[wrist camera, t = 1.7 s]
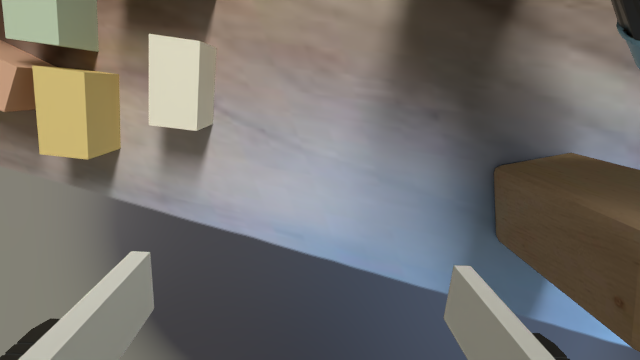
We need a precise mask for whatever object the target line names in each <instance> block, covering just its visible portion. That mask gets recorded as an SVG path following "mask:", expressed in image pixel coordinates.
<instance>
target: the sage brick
mask: <svg viewBox="0 0 640 360" xmlns="http://www.w3.org/2000/svg"><path fill="white" fill-rule="evenodd" d="M2 7H3V17H4V26H5V36H6V38H8V39H15V40H21V41H27V42H34V43H40V44H46V45H53V46H60V47H67V48H74V49H82V50H89V51H96V52H99V51H98V23H97V0H2Z"/></svg>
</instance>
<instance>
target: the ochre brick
mask: <svg viewBox="0 0 640 360" xmlns="http://www.w3.org/2000/svg"><path fill="white" fill-rule="evenodd" d="M32 69H33V81H34V93H35V105H36V116H37V128H38V140H39V152H40V154H44V155H53V156H61V157H70V158H79V159H91V158H94V157H97V156H100V155H103V154H106V153H109V152H112V151H115V150H118V149H121V147H120V102H119V74H112V73H104V72H97V71H89V70H82V69H73V68H60V67H46V66H32Z"/></svg>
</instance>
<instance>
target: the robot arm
mask: <svg viewBox="0 0 640 360" xmlns="http://www.w3.org/2000/svg"><path fill="white" fill-rule="evenodd" d="M611 1H612V5H613V8H614V11H615V14H616V17H617V25H616V26H617V29H618V32H619V34H620V35H621V36H622V38H624V39H625V40H626V41H627V44H628V46H629V48H630V51H631V53H632V56H633V58H634V61H635V63H636V65H637V67H638V68H639V69H640V0H611ZM153 309H154V301H153V289H152V273H151V258H150V252H135V251H132V252H130V253H129V254H128V255H127V256H126V257H125V258H124V259H123V260H122V261H121V262H120V263H119V264H118V265H117V266H116V267H114V268H113V269H112V270H111V271H110V272H109V273H108V274H107V275H106V276H105V277H104V278H103V279H102V280H101V281H100V282H99V283H98V284H97V285H96V286H95V287H94V288H93V289H92V290H91V291H90V292H88V293H87V294H86V295H85V296H84V297H83V298H82V299H81V300H80V301H79V302H78V303H77V304H76V305H75V306H74V307H73V308H72V309H71V310H70V311H69V312H67V313H66V314H65V315H64V316H63V317H62V318H61V319H49V320H47V321H45V322H44V323H42V324H40V325H38V326H37V327H35V328H33V329H31V330H30V331H29V332H28V333H27V334H26V335H25V336H24V337H22V338H21V339H20V340H19V341H18V342H17V344H16V345H14V346H12V347H11V348H10V349H9V350H8V351H7V352H6V354H5V355H2V356H1V357H0V360H119V359H120V358H121V357H122V355H123V354H124V352H125V351H126V349H127V348H128V346H129V344H130V343H131V342H132V340H133V339H134V337H135V336H136V334H137V333H138V331H139V330H140V328H141V327H142V326H143V324H144V322H145V321H146V319H147V318H148V317H149V315H150V314H151V312H152V310H153ZM444 320H445V322H446V323H447V325H448V327H449V329H450V330H451V332H452V333H453V335H454V337H455V339H456V341H457V342H458V344H459V346H460V347H461V349H462V351H463V352H464V354H465V356H466V357H467V359H468V360H570V359H567V356H566V355H565V354H564V353H563V352H562V351H561V350H560V349H559V348H558V347H557V346H556V345H555V344H554V343H553V342H551V341H550V340H548V339H547V338H545V337H544V336H542V335H541V334H540V333H531V332H530V331H529V330H528V329H527V328H526V327H525V326H524V324H523V323H522V322H521V321H520V320H519V319H518V318H517V317H516V316H515V314H514V313H513V312H512V311H511V310H510V309H509V308H508V307H507V306H506V304H505V303H504V302H503V301H502V300H501V299H500V298H499V297H498V296H497V295H496V293H495V292H494V291H493V290H492V289H491V288H490V287H489V286H488V285H487V284H486V282H485V281H484V280H483V279H482V278H481V277H480V276H479V275H478V274H477V272H476V271H475V270H474V269H473V268H472V267H471V266H459V265H454V267H453V272H452V277H451V282H450V288H449V293H448V299H447V303H446V308H445V314H444Z"/></svg>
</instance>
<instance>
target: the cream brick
mask: <svg viewBox="0 0 640 360" xmlns="http://www.w3.org/2000/svg"><path fill="white" fill-rule="evenodd" d="M216 49H217V48H215V47H213V46H211V45H208V44H206V43H203V42H201V41H196V40H189V39H182V38H175V37H168V36H161V35H154V34H149V125H152V126H160V127H169V128H177V129H185V130H193V131H198V130H200V129H202V128H205V127H207V126H210V125H212V124H213V110H214V90H215V70H216Z"/></svg>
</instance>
